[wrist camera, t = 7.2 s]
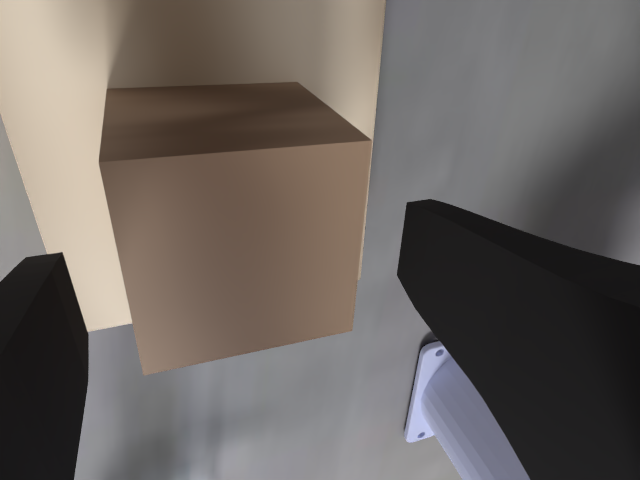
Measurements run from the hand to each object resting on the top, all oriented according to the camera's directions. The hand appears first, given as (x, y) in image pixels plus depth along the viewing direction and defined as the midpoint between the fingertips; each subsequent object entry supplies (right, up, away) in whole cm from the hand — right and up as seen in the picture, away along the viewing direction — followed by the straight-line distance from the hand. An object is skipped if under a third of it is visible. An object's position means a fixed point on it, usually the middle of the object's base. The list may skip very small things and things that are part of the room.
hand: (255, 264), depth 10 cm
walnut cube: (-2, +2, +4) cm, 5 cm away
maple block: (-3, +4, +6) cm, 8 cm away
